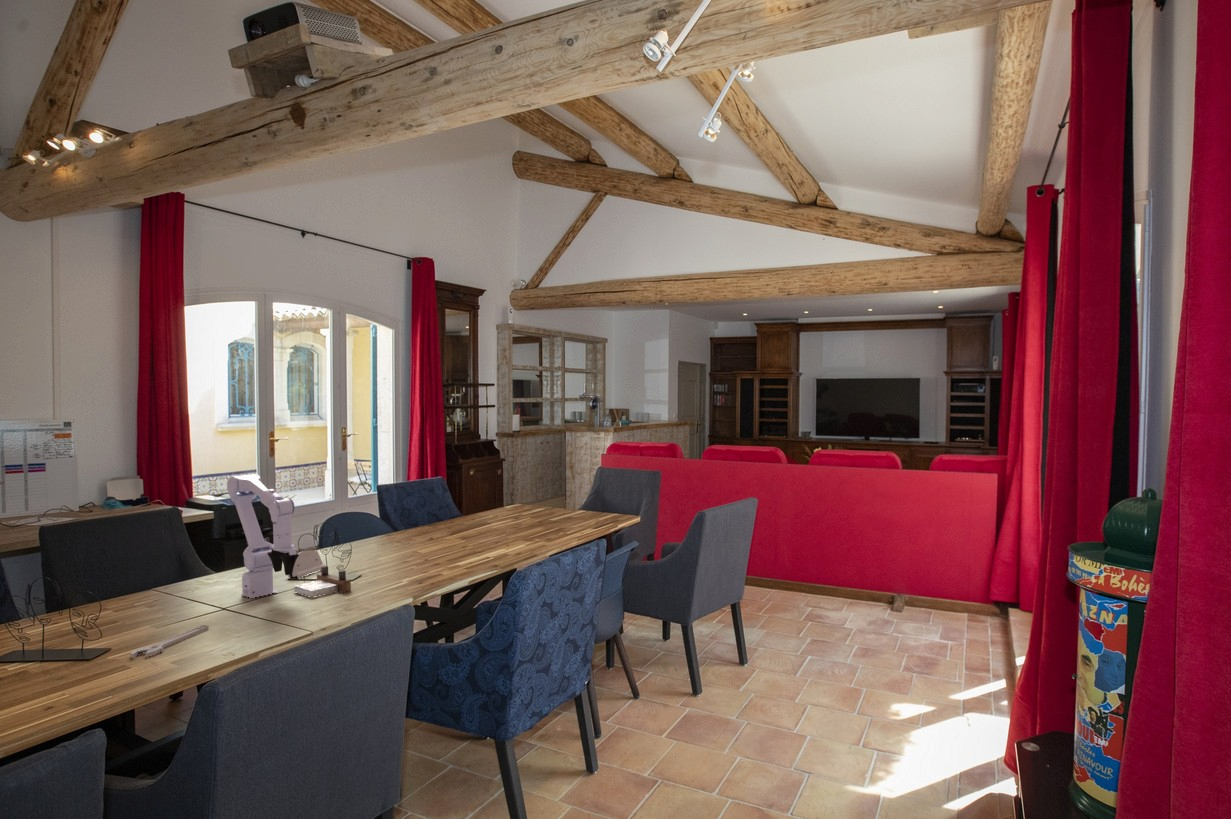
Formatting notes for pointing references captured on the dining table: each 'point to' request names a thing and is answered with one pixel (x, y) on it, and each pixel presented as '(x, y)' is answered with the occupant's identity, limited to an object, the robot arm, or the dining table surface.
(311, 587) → the plate
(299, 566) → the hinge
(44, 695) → the dining table surface
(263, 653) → the dining table surface
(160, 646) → the adjustable wrench
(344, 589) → the stop rail
